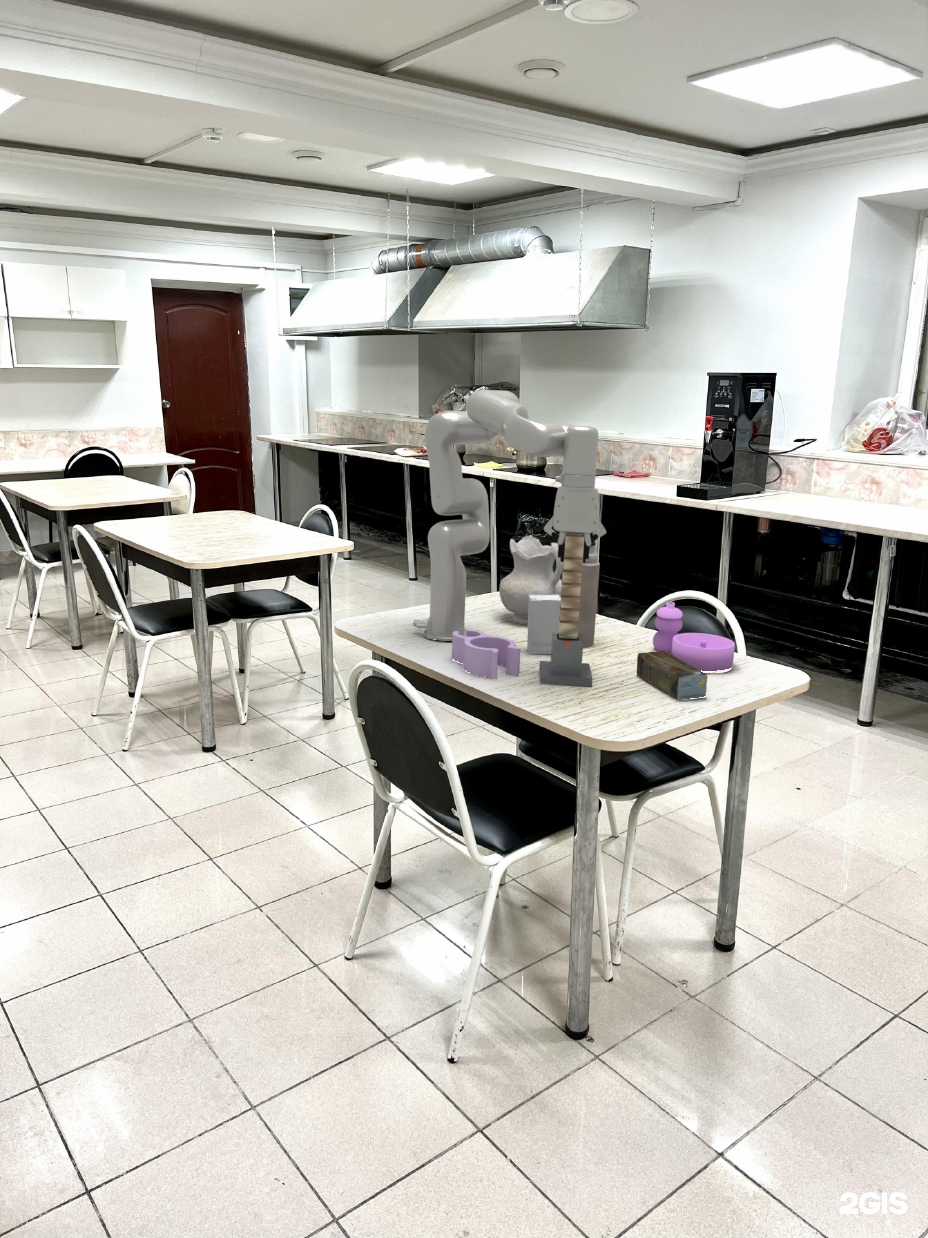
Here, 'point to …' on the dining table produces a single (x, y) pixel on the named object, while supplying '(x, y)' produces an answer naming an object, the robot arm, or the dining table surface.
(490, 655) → the clip
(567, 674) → the sleeve base
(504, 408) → the robot arm
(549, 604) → the skincare box
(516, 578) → the ceramic pitcher
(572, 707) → the dining table surface
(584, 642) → the thermos bottle
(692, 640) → the container set
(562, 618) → the post
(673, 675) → the beverage carton
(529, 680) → the dining table surface
